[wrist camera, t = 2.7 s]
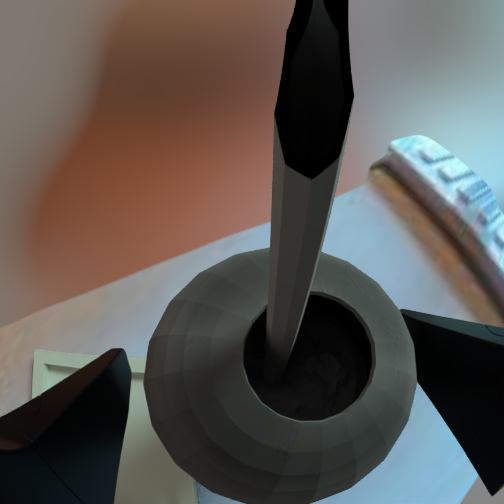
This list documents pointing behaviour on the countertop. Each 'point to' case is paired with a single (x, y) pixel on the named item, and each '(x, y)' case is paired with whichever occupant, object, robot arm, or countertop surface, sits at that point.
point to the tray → (127, 436)
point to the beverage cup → (287, 319)
